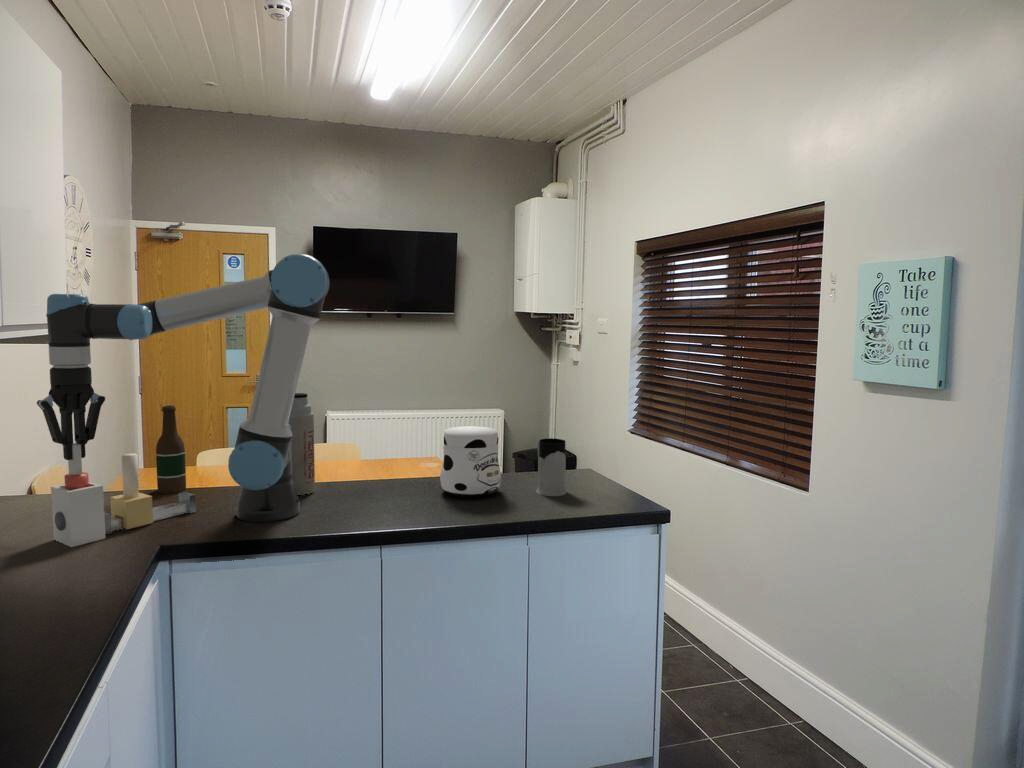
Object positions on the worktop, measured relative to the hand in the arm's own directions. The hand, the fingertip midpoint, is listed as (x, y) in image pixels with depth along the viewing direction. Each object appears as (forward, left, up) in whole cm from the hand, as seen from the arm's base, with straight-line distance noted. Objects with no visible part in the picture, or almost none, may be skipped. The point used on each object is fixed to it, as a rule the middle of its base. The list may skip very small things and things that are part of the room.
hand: (75, 473), depth 149 cm
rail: (+1, -16, -15) cm, 22 cm away
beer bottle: (+23, -35, -15) cm, 44 cm away
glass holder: (-62, -99, -15) cm, 118 cm away
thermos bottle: (-7, -55, -15) cm, 57 cm away
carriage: (+1, -12, -15) cm, 19 cm away
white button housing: (0, 0, -15) cm, 15 cm away
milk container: (-46, -83, -15) cm, 96 cm away
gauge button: (0, 0, -5) cm, 5 cm away
